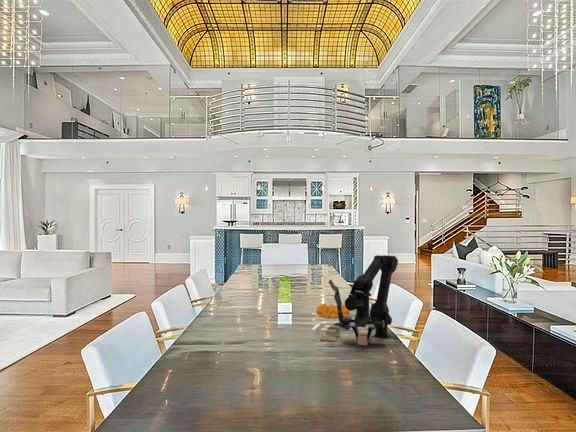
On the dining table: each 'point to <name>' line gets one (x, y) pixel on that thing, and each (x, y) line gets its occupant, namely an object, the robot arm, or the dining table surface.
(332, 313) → the decorative ornament
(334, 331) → the block
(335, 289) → the statue
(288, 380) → the dining table surface
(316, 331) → the backstop
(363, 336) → the peg
